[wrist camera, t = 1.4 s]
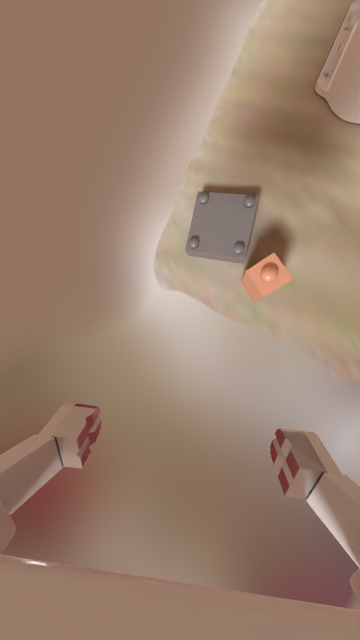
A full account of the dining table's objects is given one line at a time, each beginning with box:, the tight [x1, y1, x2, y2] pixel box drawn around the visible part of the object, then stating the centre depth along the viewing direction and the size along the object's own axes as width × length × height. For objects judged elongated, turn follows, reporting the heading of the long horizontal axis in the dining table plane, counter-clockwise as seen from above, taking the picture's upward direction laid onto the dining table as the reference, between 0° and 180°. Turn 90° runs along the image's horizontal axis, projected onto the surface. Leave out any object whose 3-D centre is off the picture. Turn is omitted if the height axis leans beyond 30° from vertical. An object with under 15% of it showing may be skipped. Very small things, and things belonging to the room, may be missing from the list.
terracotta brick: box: [241, 253, 293, 302], centre depth 34 cm, size 5×5×11 cm
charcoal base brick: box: [186, 192, 259, 263], centre depth 39 cm, size 12×12×5 cm
